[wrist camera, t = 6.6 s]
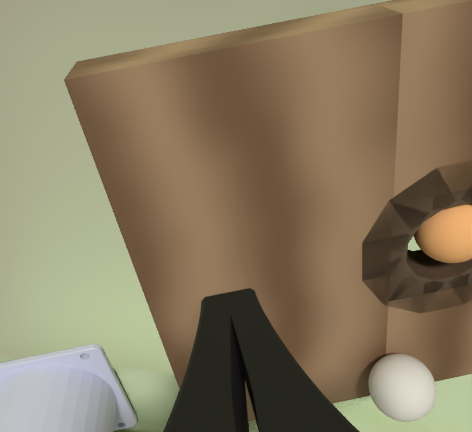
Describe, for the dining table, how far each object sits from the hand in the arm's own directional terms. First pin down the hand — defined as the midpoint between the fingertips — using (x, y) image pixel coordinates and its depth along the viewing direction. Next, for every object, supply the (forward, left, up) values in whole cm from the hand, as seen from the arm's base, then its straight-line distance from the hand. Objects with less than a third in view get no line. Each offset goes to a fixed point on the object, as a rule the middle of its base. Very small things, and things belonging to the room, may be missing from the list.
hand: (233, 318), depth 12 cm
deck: (+6, -6, -10) cm, 13 cm away
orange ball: (+11, -5, -8) cm, 15 cm away
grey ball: (+8, -14, -6) cm, 17 cm away
